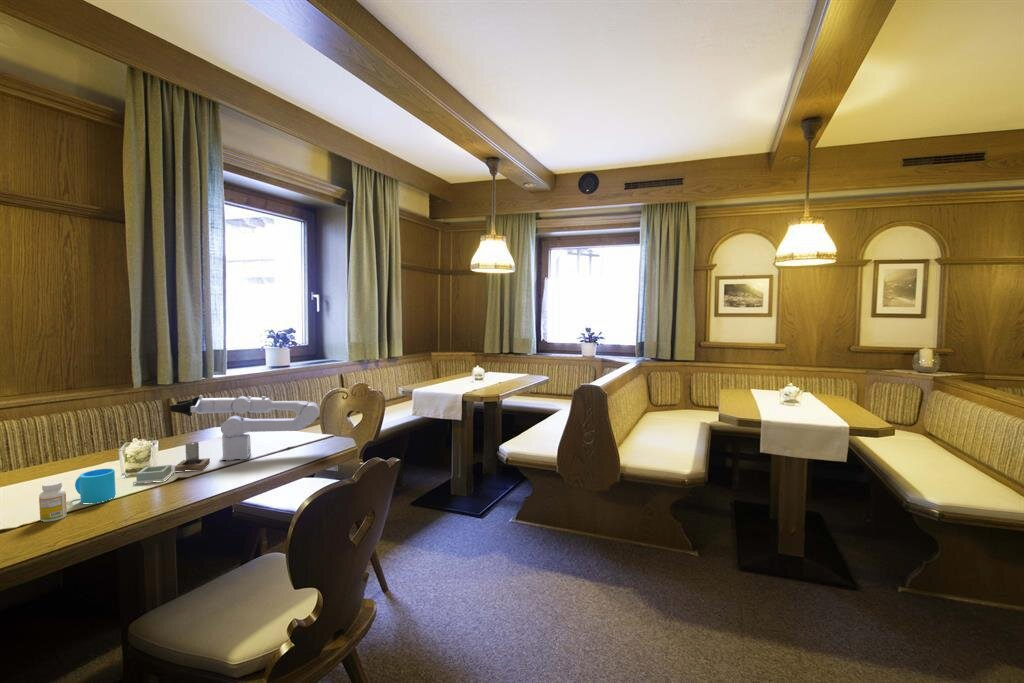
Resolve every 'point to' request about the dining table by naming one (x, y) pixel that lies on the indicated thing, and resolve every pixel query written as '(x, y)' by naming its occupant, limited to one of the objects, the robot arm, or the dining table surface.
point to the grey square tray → (153, 474)
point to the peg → (192, 453)
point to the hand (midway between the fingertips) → (173, 406)
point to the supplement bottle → (52, 502)
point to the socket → (200, 466)
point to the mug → (96, 485)
